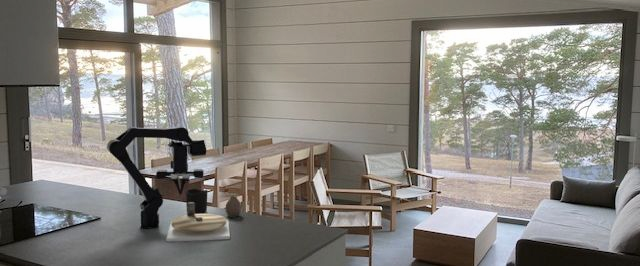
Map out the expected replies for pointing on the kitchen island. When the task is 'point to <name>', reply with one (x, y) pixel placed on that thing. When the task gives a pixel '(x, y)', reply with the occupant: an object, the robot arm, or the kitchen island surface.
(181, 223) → the handwheel
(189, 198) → the pen holder
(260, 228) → the kitchen island surface
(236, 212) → the vase
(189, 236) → the base plate
